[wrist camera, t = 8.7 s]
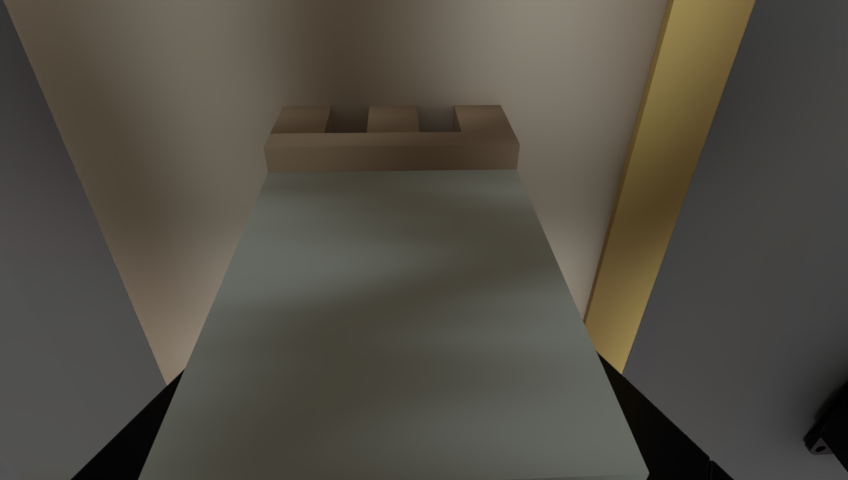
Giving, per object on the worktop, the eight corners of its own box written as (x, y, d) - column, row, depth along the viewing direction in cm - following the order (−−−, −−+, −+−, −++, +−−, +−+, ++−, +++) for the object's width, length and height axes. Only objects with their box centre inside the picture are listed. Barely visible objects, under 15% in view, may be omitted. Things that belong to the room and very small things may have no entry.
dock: (689, -144, 12) (810, -154, 8) (567, 340, 21) (601, 429, 18) (65, -157, 11) (-80, -175, 8) (222, 350, 20) (188, 445, 17)
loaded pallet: (500, 104, 11) (664, 440, 4) (476, 336, 15) (543, 691, 8) (283, 106, 11) (111, 463, 4) (318, 341, 15) (260, 710, 8)
